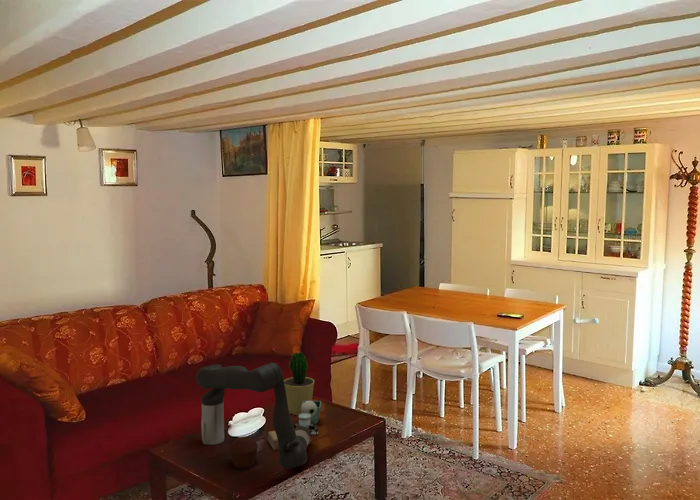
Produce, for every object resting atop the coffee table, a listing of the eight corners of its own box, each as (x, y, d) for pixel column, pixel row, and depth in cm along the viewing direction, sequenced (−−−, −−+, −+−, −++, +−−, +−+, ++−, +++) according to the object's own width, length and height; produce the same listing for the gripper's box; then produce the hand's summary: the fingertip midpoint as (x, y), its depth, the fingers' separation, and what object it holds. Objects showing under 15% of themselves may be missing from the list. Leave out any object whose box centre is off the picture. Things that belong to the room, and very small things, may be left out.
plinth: (273, 450, 244) (273, 440, 244) (268, 440, 254) (267, 431, 253) (296, 446, 248) (296, 436, 248) (290, 437, 257) (290, 428, 257)
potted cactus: (319, 407, 294) (319, 348, 292) (306, 418, 280) (306, 356, 277) (292, 403, 300) (291, 346, 297) (277, 413, 285) (277, 353, 283)
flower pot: (320, 426, 270) (320, 407, 269) (301, 426, 270) (301, 407, 269) (321, 419, 279) (321, 400, 278) (303, 418, 279) (302, 400, 278)
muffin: (244, 454, 241) (243, 430, 240) (264, 460, 235) (263, 436, 234) (222, 465, 231) (222, 440, 230) (243, 472, 225) (242, 447, 224)
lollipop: (304, 438, 257) (304, 404, 255) (298, 432, 263) (298, 399, 262) (319, 434, 260) (319, 402, 259) (313, 429, 266) (312, 397, 265)
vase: (300, 445, 247) (300, 418, 246) (296, 441, 252) (296, 414, 251) (312, 444, 249) (312, 416, 248) (308, 439, 254) (308, 412, 253)
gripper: (317, 430, 235) (321, 415, 252) (282, 429, 236) (289, 414, 253) (317, 448, 236) (321, 431, 253) (282, 447, 236) (289, 430, 253)
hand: (305, 423), depth 252 cm, fingers closed on vase, 4 cm apart
